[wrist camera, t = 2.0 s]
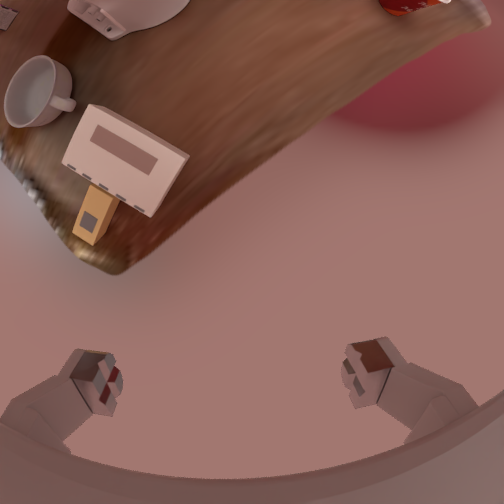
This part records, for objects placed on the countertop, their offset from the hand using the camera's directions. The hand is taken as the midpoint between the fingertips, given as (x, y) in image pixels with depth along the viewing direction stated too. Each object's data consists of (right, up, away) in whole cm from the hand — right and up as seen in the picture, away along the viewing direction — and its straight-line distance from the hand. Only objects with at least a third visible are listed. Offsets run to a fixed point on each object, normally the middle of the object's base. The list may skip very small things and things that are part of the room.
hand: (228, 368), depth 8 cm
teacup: (-29, +28, +20) cm, 45 cm away
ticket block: (-17, +18, +26) cm, 36 cm away
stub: (-22, +11, +29) cm, 38 cm away
